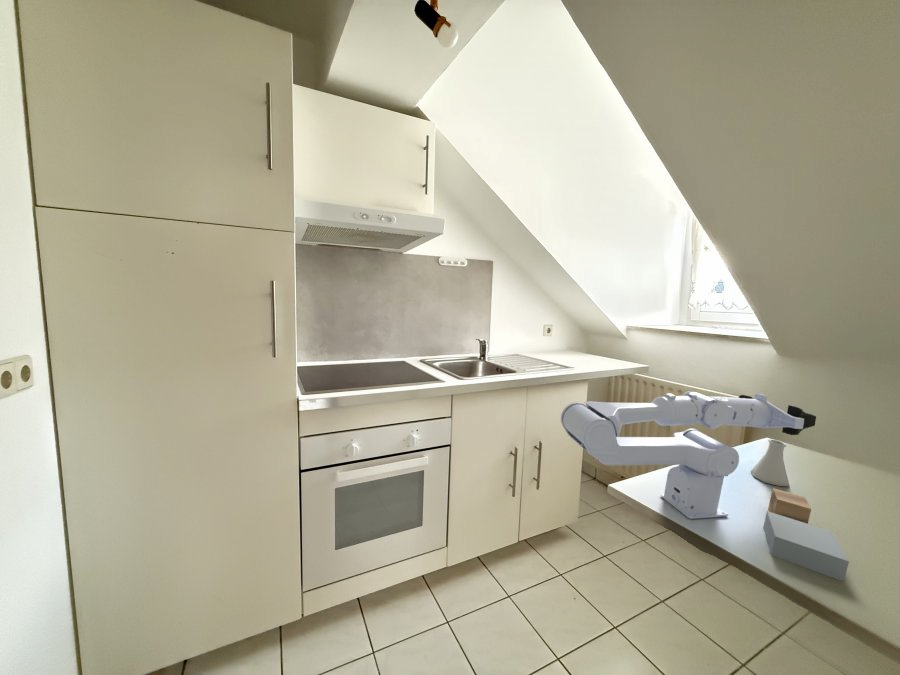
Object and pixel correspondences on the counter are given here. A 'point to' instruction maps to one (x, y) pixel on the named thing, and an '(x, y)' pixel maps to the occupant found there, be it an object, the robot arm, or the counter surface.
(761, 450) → the counter surface
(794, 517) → the walnut cube
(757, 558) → the counter surface
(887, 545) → the counter surface
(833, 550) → the slate block
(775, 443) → the flask
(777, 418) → the robot arm
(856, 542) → the counter surface
